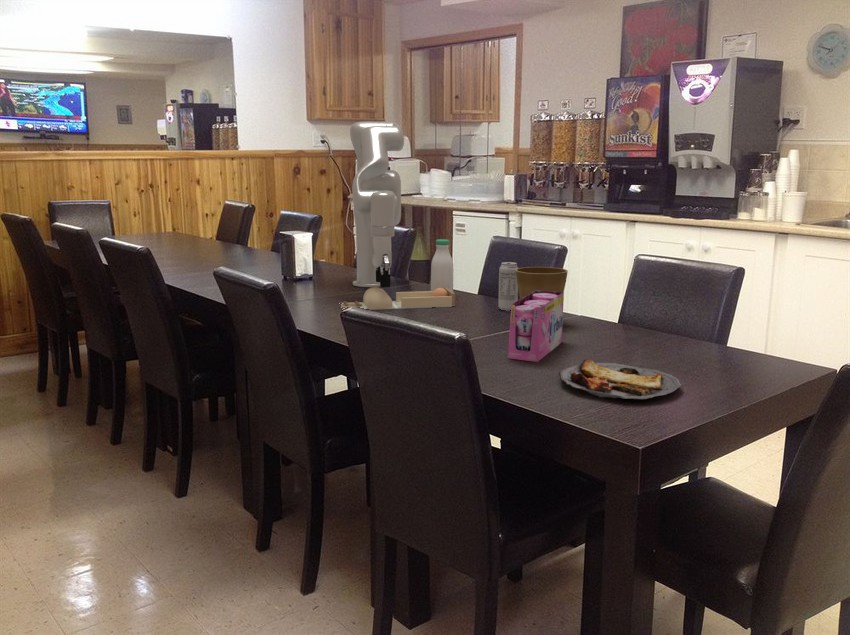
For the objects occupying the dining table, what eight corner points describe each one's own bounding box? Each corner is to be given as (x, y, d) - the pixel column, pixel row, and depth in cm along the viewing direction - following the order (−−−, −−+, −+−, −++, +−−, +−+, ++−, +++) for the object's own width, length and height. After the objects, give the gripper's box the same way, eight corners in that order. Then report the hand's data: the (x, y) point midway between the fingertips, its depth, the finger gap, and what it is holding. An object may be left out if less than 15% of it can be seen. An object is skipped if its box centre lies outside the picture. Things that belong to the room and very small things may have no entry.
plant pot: (573, 322, 228) (576, 268, 224) (551, 331, 216) (554, 275, 212) (528, 316, 236) (530, 264, 233) (505, 324, 224) (506, 270, 221)
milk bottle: (456, 298, 263) (457, 240, 259) (435, 300, 260) (436, 241, 256) (447, 295, 270) (448, 238, 266) (427, 296, 267) (427, 238, 263)
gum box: (537, 364, 183) (539, 308, 180) (505, 360, 186) (507, 305, 183) (562, 342, 204) (564, 291, 201) (533, 339, 207) (535, 289, 204)
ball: (436, 283, 255) (448, 291, 256) (428, 296, 255) (440, 304, 256) (439, 286, 250) (452, 294, 251) (431, 299, 250) (443, 307, 252)
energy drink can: (519, 308, 247) (521, 262, 244) (513, 312, 241) (515, 264, 238) (501, 307, 249) (503, 261, 246) (495, 310, 244) (496, 263, 241)
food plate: (541, 389, 163) (542, 373, 162) (583, 365, 182) (584, 351, 181) (658, 414, 149) (660, 397, 149) (690, 386, 169) (692, 371, 168)
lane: (339, 311, 253) (338, 287, 251) (446, 308, 260) (447, 284, 259) (342, 318, 242) (342, 293, 241) (454, 314, 250) (455, 290, 248)
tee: (339, 304, 250) (339, 300, 250) (360, 303, 252) (360, 300, 252) (341, 308, 244) (341, 304, 244) (363, 307, 245) (363, 304, 245)
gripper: (367, 228, 252) (367, 280, 256) (374, 234, 236) (375, 289, 239) (389, 228, 254) (390, 279, 258) (399, 234, 237) (399, 288, 241)
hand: (382, 284), depth 249 cm, fingers open, 9 cm apart
